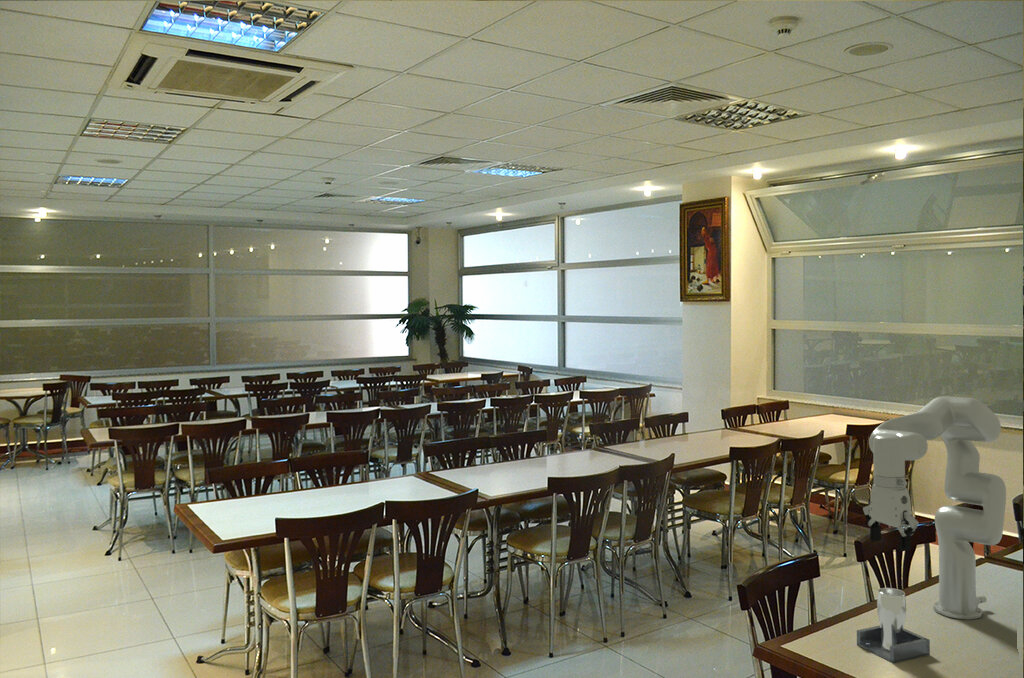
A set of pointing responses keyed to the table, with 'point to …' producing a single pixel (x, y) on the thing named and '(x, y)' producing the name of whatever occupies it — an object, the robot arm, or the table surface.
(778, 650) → the table surface
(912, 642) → the grey tray
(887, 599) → the beer glass
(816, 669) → the table surface
